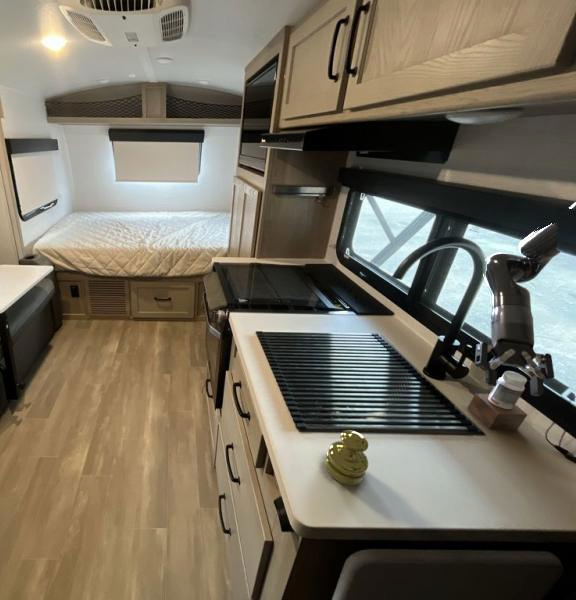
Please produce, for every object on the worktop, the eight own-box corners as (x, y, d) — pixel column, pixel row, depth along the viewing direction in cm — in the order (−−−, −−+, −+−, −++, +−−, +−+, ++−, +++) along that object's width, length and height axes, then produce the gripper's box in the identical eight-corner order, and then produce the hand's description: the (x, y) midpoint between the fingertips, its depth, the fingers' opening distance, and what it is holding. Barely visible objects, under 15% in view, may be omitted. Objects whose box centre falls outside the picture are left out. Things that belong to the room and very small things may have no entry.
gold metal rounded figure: (317, 455, 73) (328, 422, 68) (349, 453, 74) (362, 420, 69) (335, 487, 66) (348, 453, 62) (370, 485, 67) (385, 450, 63)
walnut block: (517, 429, 82) (527, 414, 79) (489, 428, 82) (498, 413, 79) (493, 408, 88) (502, 394, 86) (467, 407, 88) (475, 393, 86)
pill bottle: (516, 411, 80) (534, 384, 76) (493, 407, 81) (509, 380, 78) (505, 398, 84) (522, 372, 80) (483, 394, 85) (499, 368, 82)
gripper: (487, 316, 82) (487, 381, 78) (560, 328, 78) (565, 397, 74) (469, 325, 89) (468, 385, 84) (535, 336, 85) (538, 399, 80)
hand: (513, 390), depth 79 cm, fingers open, 8 cm apart
